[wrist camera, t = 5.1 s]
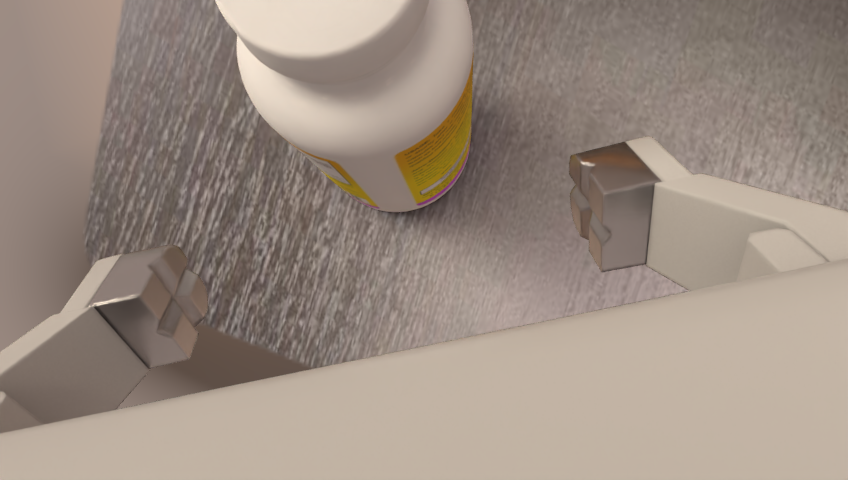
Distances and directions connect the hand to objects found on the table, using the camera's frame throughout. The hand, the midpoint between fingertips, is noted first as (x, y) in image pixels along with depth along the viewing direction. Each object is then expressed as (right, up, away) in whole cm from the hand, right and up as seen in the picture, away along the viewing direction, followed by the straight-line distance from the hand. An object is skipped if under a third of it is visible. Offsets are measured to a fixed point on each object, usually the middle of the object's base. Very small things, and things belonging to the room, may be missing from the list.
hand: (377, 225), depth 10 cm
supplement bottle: (0, +4, +13) cm, 14 cm away
